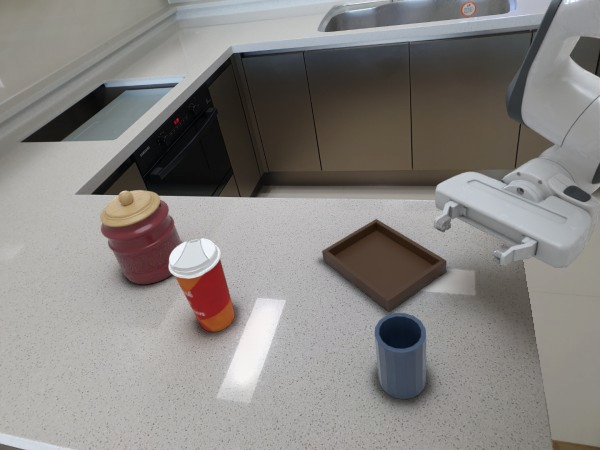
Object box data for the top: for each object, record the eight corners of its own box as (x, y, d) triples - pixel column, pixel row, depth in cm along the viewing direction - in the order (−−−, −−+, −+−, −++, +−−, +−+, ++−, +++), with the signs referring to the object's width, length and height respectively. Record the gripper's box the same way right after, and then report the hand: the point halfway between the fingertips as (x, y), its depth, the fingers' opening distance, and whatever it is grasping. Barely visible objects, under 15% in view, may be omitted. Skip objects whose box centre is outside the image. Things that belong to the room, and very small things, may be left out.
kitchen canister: (180, 236, 101) (152, 166, 91) (193, 269, 91) (163, 195, 81) (121, 258, 98) (86, 188, 88) (128, 295, 88) (88, 221, 78)
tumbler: (435, 380, 63) (436, 332, 58) (402, 408, 61) (399, 361, 55) (402, 351, 68) (400, 305, 62) (369, 376, 66) (364, 330, 60)
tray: (446, 271, 80) (446, 260, 78) (388, 311, 74) (388, 301, 73) (377, 228, 92) (376, 218, 91) (323, 260, 87) (321, 250, 86)
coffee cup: (196, 305, 83) (169, 241, 74) (241, 297, 83) (219, 231, 74) (192, 342, 76) (162, 276, 67) (241, 332, 76) (217, 265, 67)
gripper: (472, 153, 70) (406, 191, 64) (614, 205, 55) (544, 261, 50) (469, 187, 73) (407, 226, 68) (602, 245, 59) (535, 301, 54)
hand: (466, 241), depth 59 cm, fingers open, 8 cm apart
